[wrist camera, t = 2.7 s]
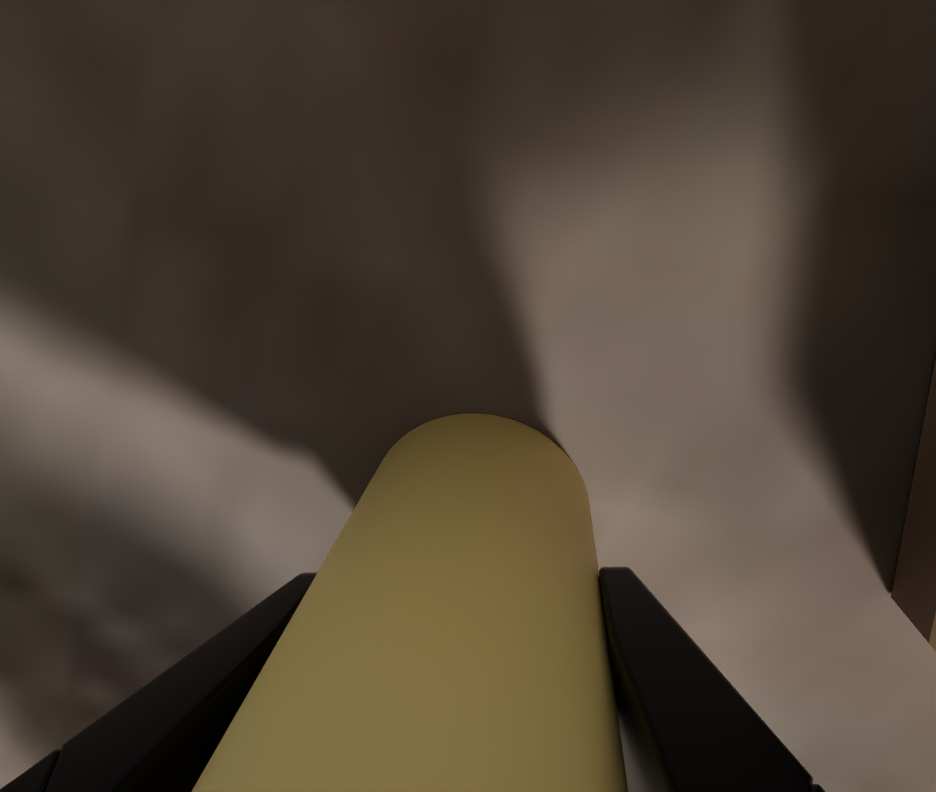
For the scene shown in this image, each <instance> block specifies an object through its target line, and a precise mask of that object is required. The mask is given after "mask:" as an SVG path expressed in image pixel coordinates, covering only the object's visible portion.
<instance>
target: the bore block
mask: <svg viewBox="0 0 936 792" xmlns="http://www.w3.org/2000/svg"><path fill="white" fill-rule="evenodd" d="M891 598H892V599H893V600H894V601H895V603H896V604H897V605H898V606H899V607H900V609H901V610H902V611H903V612H904V613H905V615H906V616H907V617H908V618H909V620H910V621H911V622H912V623H913V624H914V626H915V627H916V628H917V629H918V630H919V632H920V633H921V634H922V635H923V637H924V638H925V639H926V640H927V641H928V643H929V644H930V645H931V646H932V647H933V649H934V650H935V651H936V359H935V364H934V370H933V375H932V380H931V386H930V391H929V396H928V402H927V407H926V412H925V418H924V423H923V428H922V434H921V439H920V444H919V450H918V455H917V460H916V466H915V471H914V476H913V482H912V487H911V492H910V498H909V503H908V508H907V514H906V519H905V524H904V530H903V535H902V540H901V546H900V551H899V556H898V562H897V567H896V572H895V578H894V583H893V588H892V594H891Z"/></svg>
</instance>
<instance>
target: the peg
mask: <svg viewBox="0 0 936 792" xmlns="http://www.w3.org/2000/svg"><path fill="white" fill-rule="evenodd" d="M192 792H628V785H627V778H626V770H625V763H624V756H623V748H622V741H621V733H620V726H619V719H618V711H617V704H616V696H615V689H614V682H613V675H612V668H611V661H610V655H609V649H608V641H607V634H606V626H605V619H604V612H603V604H602V597H601V589H600V582H599V571H598V564H597V556H596V549H595V541H594V534H593V527H592V519H591V512H590V505H589V498H588V494H587V490H586V487H585V484H584V482H583V480H582V477H581V475H580V473H579V471H578V470H577V468H576V467H575V465H574V464H573V462H572V461H571V459H570V458H569V457H568V456H567V455H566V454H565V453H564V451H563V450H562V449H561V448H560V447H558V446H557V445H556V444H555V443H554V442H553V441H552V440H550V439H549V438H548V437H546V436H545V435H543V434H542V433H540V432H539V431H537V430H535V429H533V428H531V427H529V426H527V425H525V424H523V423H520V422H517V421H515V420H512V419H509V418H505V417H500V416H496V415H489V414H480V413H467V414H456V415H449V416H445V417H441V418H437V419H434V420H431V421H429V422H427V423H424V424H422V425H420V426H418V427H416V428H415V429H413V430H411V431H409V432H408V433H407V434H406V435H404V436H403V437H402V438H400V439H399V440H398V441H397V442H396V443H395V444H394V445H393V446H392V448H391V449H390V450H389V451H388V453H387V454H386V456H385V457H384V458H383V460H382V462H381V463H380V465H379V467H378V469H377V470H376V472H375V474H374V476H373V477H372V479H371V481H370V483H369V484H368V486H367V488H366V490H365V491H364V493H363V495H362V496H361V498H360V500H359V502H358V503H357V505H356V507H355V509H354V510H353V512H352V514H351V516H350V517H349V519H348V521H347V523H346V524H345V526H344V528H343V529H342V531H341V533H340V535H339V536H338V538H337V540H336V542H335V543H334V545H333V547H332V549H331V550H330V552H329V554H328V555H327V557H326V559H325V561H324V562H323V564H322V566H321V568H320V569H319V571H318V573H317V575H316V576H315V578H314V580H313V582H312V583H311V585H310V587H309V588H308V590H307V592H306V594H305V595H304V597H303V599H302V601H301V602H300V604H299V606H298V608H297V609H296V611H295V613H294V615H293V616H292V618H291V620H290V621H289V623H288V625H287V627H286V628H285V630H284V632H283V634H282V635H281V637H280V639H279V641H278V642H277V644H276V646H275V647H274V649H273V651H272V653H271V654H270V656H269V658H268V660H267V661H266V663H265V665H264V667H263V668H262V670H261V672H260V674H259V675H258V677H257V679H256V680H255V682H254V684H253V686H252V687H251V689H250V691H249V693H248V694H247V696H246V698H245V700H244V701H243V703H242V705H241V707H240V708H239V710H238V712H237V713H236V715H235V717H234V719H233V720H232V722H231V724H230V726H229V727H228V729H227V731H226V733H225V734H224V736H223V738H222V739H221V741H220V743H219V745H218V746H217V748H216V750H215V752H214V753H213V755H212V757H211V759H210V760H209V762H208V764H207V766H206V767H205V769H204V771H203V772H202V774H201V776H200V778H199V779H198V781H197V783H196V785H195V786H194V788H193V790H192Z"/></svg>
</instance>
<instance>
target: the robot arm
mask: <svg viewBox="0 0 936 792" xmlns="http://www.w3.org/2000/svg"><path fill="white" fill-rule="evenodd" d="M316 575H317V573H302V574H300V575H298V576H296V577H295V578H294V579H292V580H291V581H289V582H288V583H287V584H285V585H284V586H283V587H281V588H280V589H278V590H277V591H276V592H274V593H273V594H271V595H270V596H269V597H267V598H266V599H264V600H263V601H262V602H260V603H259V604H258V605H256V606H255V607H253V608H252V609H251V610H249V611H248V612H246V613H245V614H244V615H242V616H241V617H240V618H238V619H237V620H235V621H234V622H233V623H231V624H230V625H228V626H227V627H226V628H224V629H223V630H221V631H220V632H219V633H217V634H216V635H215V636H213V637H212V638H210V639H209V640H208V641H206V642H205V643H203V644H202V645H201V646H199V647H198V648H196V649H195V650H194V651H192V652H191V653H190V654H188V655H187V656H185V657H184V658H183V659H181V660H180V661H178V662H177V663H176V664H174V665H173V666H171V667H170V668H169V669H167V670H166V671H164V672H163V673H162V674H160V675H159V676H158V677H156V678H155V679H153V680H152V681H151V682H149V683H148V684H146V685H145V686H144V687H142V688H141V689H139V690H138V691H137V692H135V693H134V694H133V695H131V696H130V697H128V698H127V699H126V700H124V701H123V702H121V703H120V704H119V705H117V706H116V707H114V708H113V709H112V710H110V711H109V712H108V713H106V714H105V715H103V716H102V717H101V718H99V719H98V720H96V721H95V722H94V723H92V724H91V725H89V726H88V727H87V728H85V729H84V730H83V731H81V732H80V733H78V734H77V735H76V736H74V737H73V738H71V739H70V740H69V741H67V742H66V743H65V744H64V745H63V746H62V748H61V750H59V749H57V750H55V751H53V752H52V753H50V754H49V755H48V756H46V757H45V758H43V759H42V760H41V761H39V762H38V763H37V764H35V765H34V766H32V767H31V768H30V769H28V770H27V771H25V772H24V773H23V774H21V775H20V776H18V777H17V778H16V779H14V780H13V781H11V782H10V783H8V784H7V785H6V786H4V787H3V788H1V789H0V792H192V790H193V788H194V786H195V785H196V783H197V781H198V779H199V778H200V776H201V774H202V772H203V771H204V769H205V767H206V766H207V764H208V762H209V760H210V759H211V757H212V755H213V753H214V752H215V750H216V748H217V746H218V745H219V743H220V741H221V739H222V738H223V736H224V734H225V733H226V731H227V729H228V727H229V726H230V724H231V722H232V720H233V719H234V717H235V715H236V713H237V712H238V710H239V708H240V707H241V705H242V703H243V701H244V700H245V698H246V696H247V694H248V693H249V691H250V689H251V687H252V686H253V684H254V682H255V680H256V679H257V677H258V675H259V674H260V672H261V670H262V668H263V667H264V665H265V663H266V661H267V660H268V658H269V656H270V654H271V653H272V651H273V649H274V647H275V646H276V644H277V642H278V641H279V639H280V637H281V635H282V634H283V632H284V630H285V628H286V627H287V625H288V623H289V621H290V620H291V618H292V616H293V615H294V613H295V611H296V609H297V608H298V606H299V604H300V602H301V601H302V599H303V597H304V595H305V594H306V592H307V590H308V588H309V587H310V585H311V583H312V582H313V580H314V578H315V576H316ZM599 582H600V589H601V597H602V604H603V612H604V619H605V626H606V634H607V641H608V649H609V655H610V661H611V668H612V675H613V682H614V689H615V696H616V704H617V711H618V719H619V726H620V733H621V741H622V748H623V756H624V763H625V770H626V778H627V785H628V792H825V791H824V789H823V788H822V787H821V786H820V785H818V784H813V778H812V776H811V775H810V774H809V773H808V772H807V770H806V769H805V768H804V767H803V766H802V765H801V764H800V762H799V761H798V760H797V759H796V758H795V757H794V756H793V754H792V753H791V752H790V751H789V750H788V749H787V747H786V746H785V745H784V744H783V743H782V742H781V741H780V739H779V738H778V737H777V736H776V735H775V734H774V733H773V731H772V730H771V729H770V728H769V727H768V726H767V725H766V723H765V722H764V721H763V720H762V719H761V718H760V717H759V715H758V714H757V713H756V712H755V711H754V710H753V709H752V707H751V706H750V705H749V704H748V703H747V702H746V701H745V699H744V698H743V697H742V696H741V695H740V694H739V693H738V691H737V690H736V689H735V688H734V687H733V686H732V685H731V683H730V682H729V681H728V680H727V679H726V678H725V677H724V675H723V674H722V673H721V672H720V671H719V670H718V669H717V667H716V666H715V665H714V664H713V663H712V662H711V661H710V659H709V658H708V657H707V656H706V655H705V654H704V653H703V651H702V650H701V649H700V648H699V647H698V646H697V645H696V643H695V642H694V641H693V640H692V639H691V638H690V637H689V635H688V634H687V633H686V632H685V631H684V630H683V629H682V627H681V626H680V625H679V624H678V623H677V622H676V620H675V619H674V618H673V617H672V616H671V615H670V614H669V612H668V611H667V610H666V609H665V608H664V607H663V606H662V604H661V603H660V602H659V601H658V600H657V599H656V598H655V596H654V595H653V594H652V593H651V592H650V591H649V590H648V588H647V587H646V586H645V585H644V584H643V583H642V582H641V580H640V579H639V578H638V577H637V576H636V575H635V574H634V572H633V571H632V570H631V569H629V568H628V567H603V568H601V569H600V570H599Z"/></svg>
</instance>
